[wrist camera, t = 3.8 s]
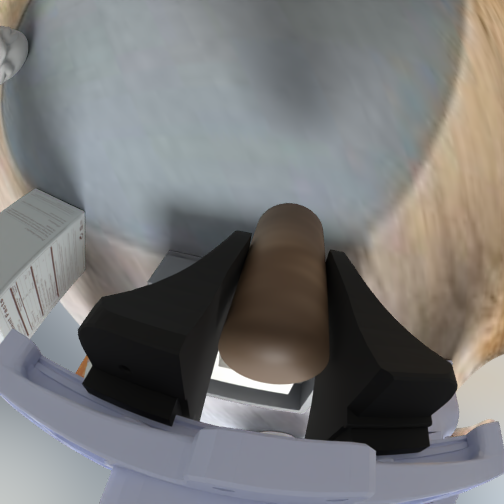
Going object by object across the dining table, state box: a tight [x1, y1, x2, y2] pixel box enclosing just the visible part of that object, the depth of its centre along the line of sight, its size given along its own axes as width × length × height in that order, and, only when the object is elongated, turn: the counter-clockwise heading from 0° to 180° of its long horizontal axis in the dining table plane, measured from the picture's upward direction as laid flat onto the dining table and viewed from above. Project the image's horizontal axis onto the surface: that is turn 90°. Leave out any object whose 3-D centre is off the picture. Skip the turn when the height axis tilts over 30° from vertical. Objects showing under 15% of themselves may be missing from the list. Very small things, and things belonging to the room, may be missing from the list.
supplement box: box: [0, 188, 85, 344], centre depth 18 cm, size 7×7×13 cm
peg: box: [218, 203, 329, 385], centre depth 11 cm, size 3×3×7 cm
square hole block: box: [148, 250, 315, 414], centre depth 24 cm, size 15×15×4 cm
